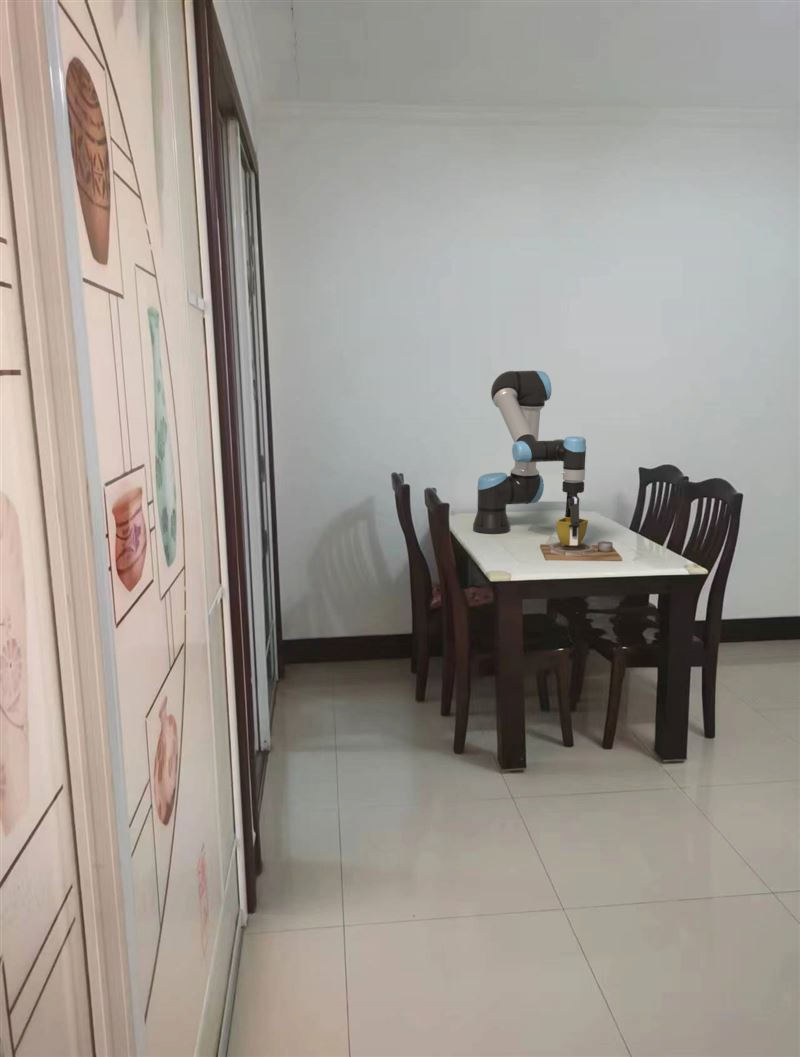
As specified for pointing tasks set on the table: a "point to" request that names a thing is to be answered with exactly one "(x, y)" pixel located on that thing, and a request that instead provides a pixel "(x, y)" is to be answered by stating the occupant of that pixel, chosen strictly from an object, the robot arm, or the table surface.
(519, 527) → the table surface
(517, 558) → the table surface
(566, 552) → the carrier board
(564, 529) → the flower pot
